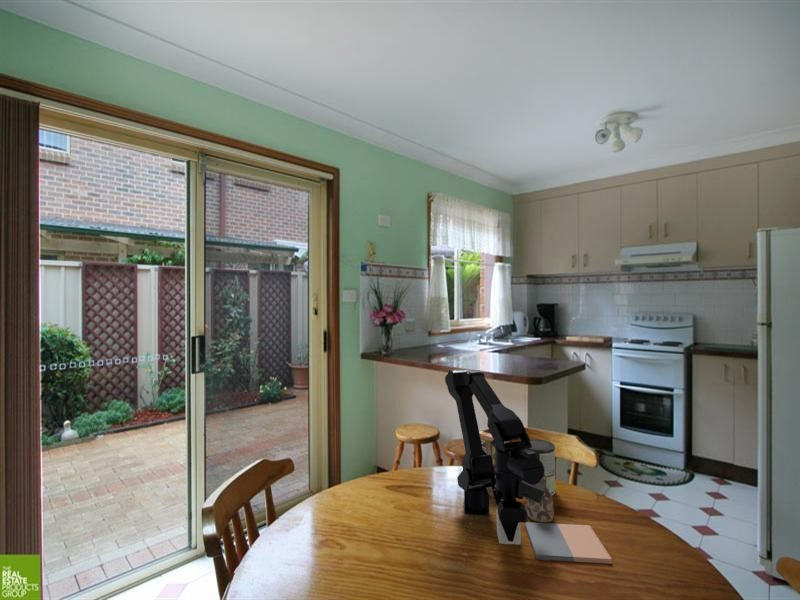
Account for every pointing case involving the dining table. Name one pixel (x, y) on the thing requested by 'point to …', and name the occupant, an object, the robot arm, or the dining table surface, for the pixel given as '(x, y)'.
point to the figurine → (541, 506)
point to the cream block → (502, 535)
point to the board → (566, 543)
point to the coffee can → (545, 460)
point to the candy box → (488, 445)
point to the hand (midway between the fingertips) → (508, 532)
